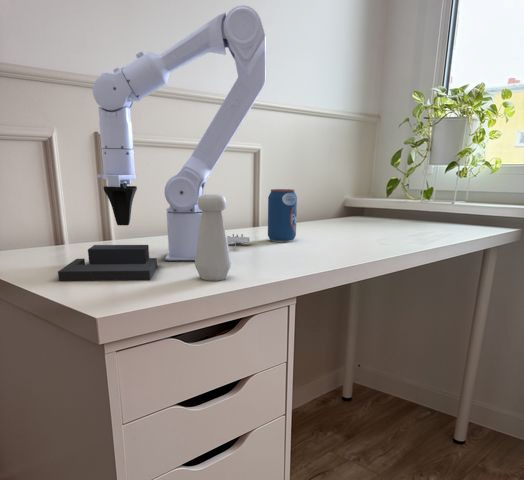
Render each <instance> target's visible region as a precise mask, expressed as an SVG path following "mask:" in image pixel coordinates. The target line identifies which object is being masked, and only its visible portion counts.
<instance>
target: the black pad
mask: <svg viewBox="0 0 524 480" xmlns="http://www.w3.org/2000/svg"><path fill="white" fill-rule="evenodd" d="M157 268H158V258H157V257H149V259H148V261H147V262H146V263H145V264H89V263H88V264H86V259H85V258H76V259H74V260H73V261H71V262H69V263H68V264H67V265H65V266H64V267H62V268H61V269H59V270H58V271H57V277H58V281H59V282H76V281H77V282H81V281H82V282H84V281H85V282H86V281H87V282H89V281H91V282H92V281H93V282H94V281H150V280H151V279H152V278H153V275H154V273H155V271H156V269H157Z"/></svg>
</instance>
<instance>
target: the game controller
mask: <svg viewBox="0 0 524 480" xmlns="http://www.w3.org/2000/svg"><path fill="white" fill-rule="evenodd" d="M240 235H241V236H239V234H236V235H235V234H234V233H232V236H230V235H226V238H227V243H228V244H229V243H233V244H234V246H233V248H236V246H237V244H241V243H243V244H250V241H251V239H250V237H249V236H244V234H243V233H241V234H240Z"/></svg>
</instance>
